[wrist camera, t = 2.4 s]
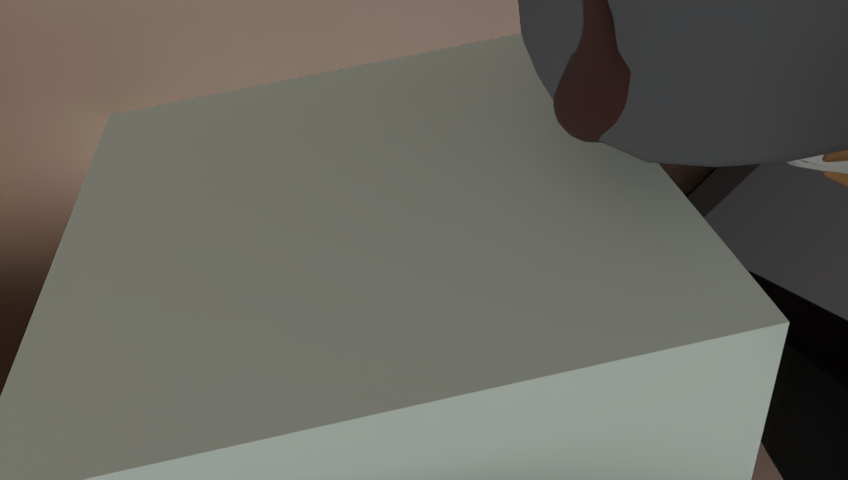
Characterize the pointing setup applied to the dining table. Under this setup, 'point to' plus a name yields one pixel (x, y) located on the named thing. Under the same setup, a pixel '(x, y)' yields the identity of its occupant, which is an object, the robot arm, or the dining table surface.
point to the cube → (387, 295)
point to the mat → (783, 227)
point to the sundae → (698, 78)
